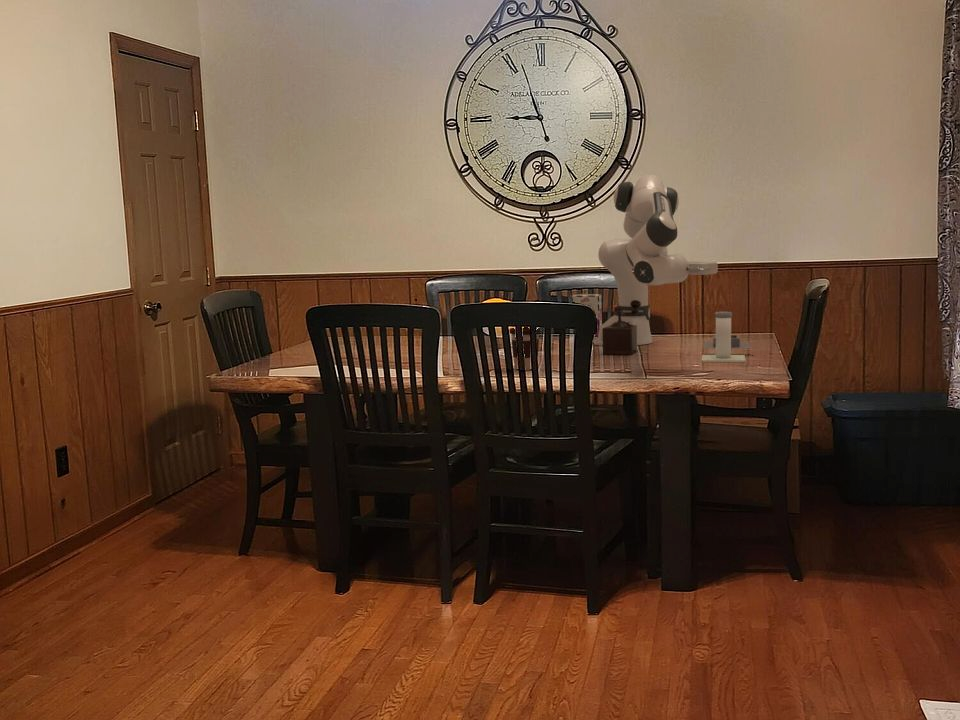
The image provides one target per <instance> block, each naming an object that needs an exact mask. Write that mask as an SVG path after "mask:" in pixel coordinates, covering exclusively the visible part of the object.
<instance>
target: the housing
mask: <svg viewBox="0 0 960 720" xmlns="http://www.w3.org/2000/svg"><path fill="white" fill-rule="evenodd" d="M712 339H713V341H704V342H703V348H702V349H716V334H713V338H712ZM740 340H741V337H740V334H731V350H733V349H735V350H736V349H737V350H738V349H739V350H740V349H742V350H743V349H751V345H750V342H749V341H740Z"/></svg>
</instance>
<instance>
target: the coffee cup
mask: <svg viewBox="0 0 960 720" xmlns="http://www.w3.org/2000/svg"><path fill="white" fill-rule="evenodd" d="M537 333H538V334H537V357H538V356H539V344H540V339H539V334H540V333H541V328H540V327H539V328H538V329H537ZM509 334H510V335H511V349H512V356H513V362H514V369H515V370H516V369H517V348H516V339H515V329H514V328H513V327H511V328H509ZM529 335H530V329H529V328H528V327H524V328H523V344H524V354H525V366H526V370H525V371H531V370H530V340H529Z"/></svg>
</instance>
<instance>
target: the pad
mask: <svg viewBox="0 0 960 720" xmlns="http://www.w3.org/2000/svg"><path fill="white" fill-rule="evenodd" d="M701 363H746V355H745V353H731V357H730V358H716V353H702V355H701Z"/></svg>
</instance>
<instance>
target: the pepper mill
mask: <svg viewBox="0 0 960 720" xmlns="http://www.w3.org/2000/svg"><path fill="white" fill-rule="evenodd" d="M630 305H631V307H632V311H631V313H625V312H621V307H620V306H618V305H617V306H618V307H617V309H618V310H617V312H618V321H617V322H614V323H612V324H611V325H609V326H607V327H605V328H603V329H602V331H603V345H602V355H605V356H606V355H609V356H610V355H611V356H612V355H613V356H615V355H616V356H632V355H634V354H636V353H637V352H638V345H637V325H630V324H629V322H630V321H629V322H628V323H627V322H625V321H621V314H622V315H631V314H636V313H639V310H638V309H639V307H640V306H641V302H640V301H638V300H633V301H631V303H630Z"/></svg>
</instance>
